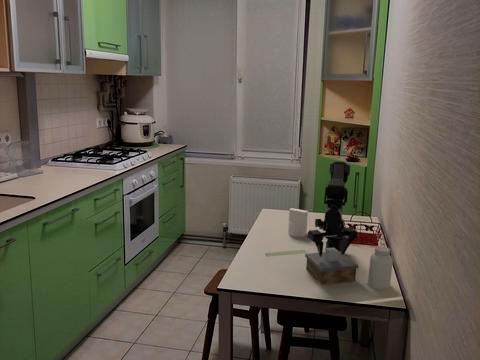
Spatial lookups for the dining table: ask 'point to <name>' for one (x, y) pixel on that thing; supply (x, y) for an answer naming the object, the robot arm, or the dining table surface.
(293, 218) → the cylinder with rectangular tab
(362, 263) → the dining table surface
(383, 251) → the pill bottle
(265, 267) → the dining table surface
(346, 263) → the lid
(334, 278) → the storage box
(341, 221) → the robot arm
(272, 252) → the mat
